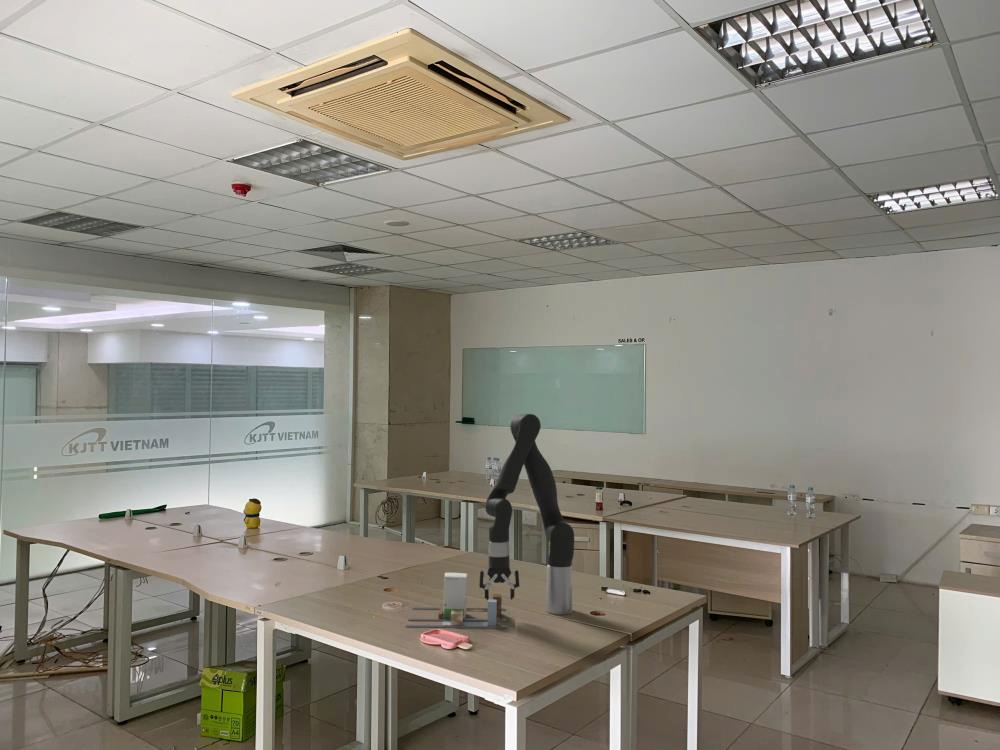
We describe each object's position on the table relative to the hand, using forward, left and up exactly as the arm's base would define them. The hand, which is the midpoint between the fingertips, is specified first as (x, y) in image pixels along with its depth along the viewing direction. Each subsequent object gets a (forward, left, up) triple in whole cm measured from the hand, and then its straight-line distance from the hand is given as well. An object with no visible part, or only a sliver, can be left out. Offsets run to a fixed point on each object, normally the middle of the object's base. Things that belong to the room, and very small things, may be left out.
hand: (499, 599), depth 250 cm
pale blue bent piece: (+10, +10, -7) cm, 16 cm away
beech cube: (+15, +10, -6) cm, 19 cm away
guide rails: (+15, +3, -7) cm, 16 cm away
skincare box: (+16, +1, -7) cm, 17 cm away
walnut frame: (+10, 0, -7) cm, 12 cm away
